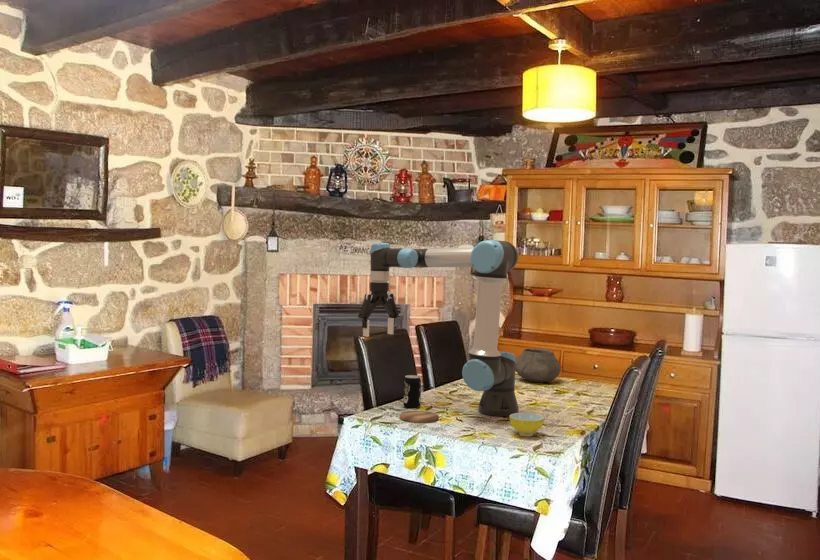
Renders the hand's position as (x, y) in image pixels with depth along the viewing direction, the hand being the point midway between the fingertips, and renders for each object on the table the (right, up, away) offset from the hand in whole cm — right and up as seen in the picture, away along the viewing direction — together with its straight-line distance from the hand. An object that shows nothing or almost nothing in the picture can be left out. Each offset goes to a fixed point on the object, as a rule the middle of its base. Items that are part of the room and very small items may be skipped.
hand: (378, 335), depth 280 cm
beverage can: (+13, -27, -9) cm, 32 cm away
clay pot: (+73, -27, +55) cm, 95 cm away
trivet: (+16, -28, -27) cm, 42 cm away
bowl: (+51, -30, -46) cm, 75 cm away
